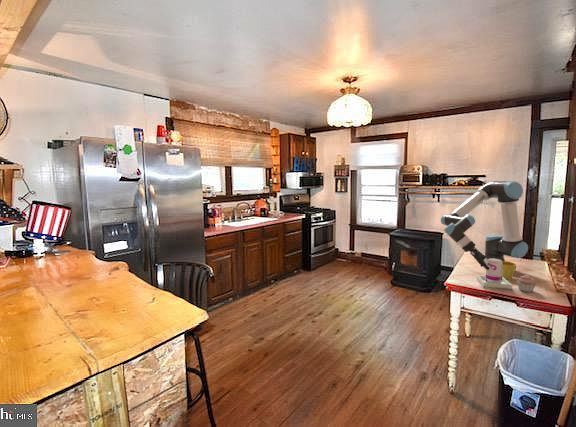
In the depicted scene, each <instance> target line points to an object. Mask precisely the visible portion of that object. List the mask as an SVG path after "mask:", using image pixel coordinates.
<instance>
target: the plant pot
mask: <svg viewBox="0 0 576 427" xmlns="http://www.w3.org/2000/svg"><path fill="white" fill-rule="evenodd" d="M502 263H503V268H502V277H504V278H505V279H506V280H510V279H513V277H514V273H515V271H516V270H517V263H515V262H513V261H506V260H505V261H502Z"/></svg>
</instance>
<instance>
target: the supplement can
mask: <svg viewBox="0 0 576 427" xmlns="http://www.w3.org/2000/svg"><path fill="white" fill-rule="evenodd" d="M487 264H488V265H489V266H490V267H491V268H492V269H493V270H494V271H495V273H493V274H490V273H489V272H488V271H487V270H486V269H485V276H486V280H485V281H486V282H487V283H497V284H501V282H502V268H503V263H502V261H501V260H499V259H494V258H490V259H488V260H487Z"/></svg>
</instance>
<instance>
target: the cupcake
mask: <svg viewBox="0 0 576 427" xmlns="http://www.w3.org/2000/svg"><path fill="white" fill-rule="evenodd" d="M517 279H518V280H516V281H515V282H516V284H517V286H518V290H519V291H521V292H523V293H533V291H534V289H535V287H536V286H537V283H535V278H533V277H531V276H530V275H529V274H527V273H525V275H520V277H518V278H517Z"/></svg>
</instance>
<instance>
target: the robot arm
mask: <svg viewBox="0 0 576 427" xmlns="http://www.w3.org/2000/svg"><path fill="white" fill-rule="evenodd" d="M523 193H524V188H523V186H522V184H521V183H520V182H518V181H514V180H513V181H512V180H502V181H501V180H494V181H490V182H488V183H486V184H483V185H482V186H480V187H479V188H478V189H477V190H475V193H474V194H473V195H472V196H470V197H469V198H468V199H466V200H465V201H464V202H463V203H462V204H461V205H459V206H458V207H457V208H455V209H454V210H453V211H452V212H451V213H449V214H444V215H442V216H441V217H440V223H441V224H442V225H443V226H446V227H445V228H444V230H443V231H444V232H445V233H446V235H447V236H448V237H449V238H451V239H452V240H453V241H454V242H455V243H456V246H459V247H460V248H461V249H462V250H463V252H465V253H468V252H469V253H470V255H471V256H472V257H473V258H474V259H475V260H476V262H477V263H478V264H479V265H480V267H483V269H484V270H485V271H486V270H487V271H488V272H489V273H490V274H493V273H495V271H494V270H493V269H492V268H491V267H490V266H489V265H488V264H487V260H488V259H490V258H494V259H499V260H501V261H506V260H505V256H507V257H511V258H514V259H515V258H516V259H521V258H523V257H524V256H526V254H528V250H529V245H528V244H527V242H525V241H524V239H523V237H522V236H521V235H520V226H519V225H520V224H519V217H518V216H519V215H518V207H517V206H518V205H517V204H518V202H519V201H520V199H521V198H522V196H523ZM491 198H496V199H497V203H499V204H500V209H501V216H502V217H501V219H502V226H503V228H502V229H503V235H502V234H500V235H497V234H496V235H495V234H494V235H487V236H486V238H485V241H484V243H485V244H484V245H485V246H484V254H483V253H482V252H481V251H479V250H478V249H477V248H476V244H475V242H474V241H473V240H471V238H469V237H468V236H467V235H466V234H465V232H466V231H468V230H469V229H470V228H471V227H473V226H474V224H476V219H475V217H474V216H472V215H471V214H470V213H471V212H472V211H473V210H474V209H476V208H477V207H478V206H479V205H481V204H482V203H484V202H486V201H488V200H489V199H491Z"/></svg>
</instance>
